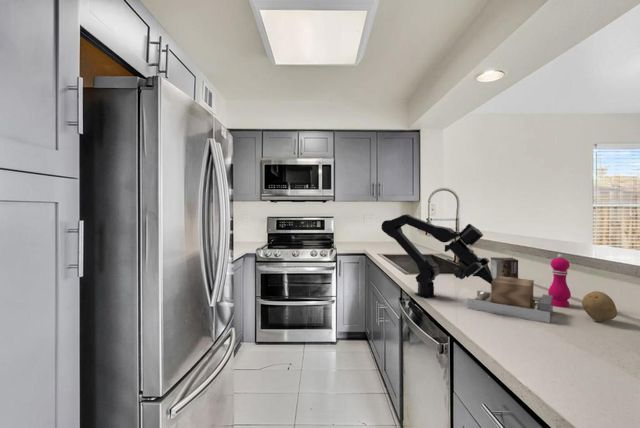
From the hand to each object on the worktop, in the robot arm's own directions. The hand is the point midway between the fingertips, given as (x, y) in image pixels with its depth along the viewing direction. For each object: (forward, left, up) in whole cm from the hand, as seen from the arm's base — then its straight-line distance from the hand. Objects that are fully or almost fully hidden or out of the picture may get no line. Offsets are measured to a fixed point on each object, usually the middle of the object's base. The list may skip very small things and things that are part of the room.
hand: (493, 284), depth 128 cm
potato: (+24, +20, -9) cm, 33 cm away
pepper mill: (+7, +27, -9) cm, 29 cm away
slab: (+5, +3, -6) cm, 9 cm away
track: (+4, +2, -9) cm, 10 cm away
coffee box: (-11, +19, -9) cm, 24 cm away
